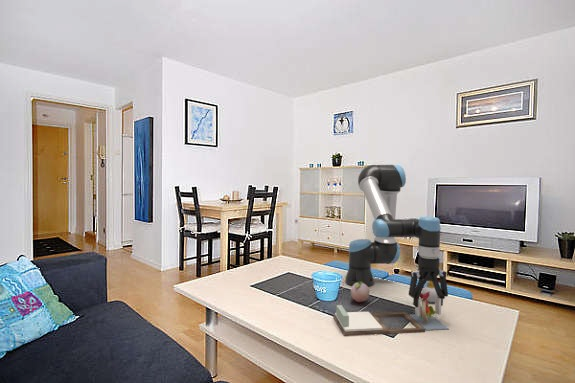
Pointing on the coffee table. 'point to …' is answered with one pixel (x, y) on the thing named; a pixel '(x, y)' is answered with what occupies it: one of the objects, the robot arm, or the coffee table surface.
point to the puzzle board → (385, 330)
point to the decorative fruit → (360, 292)
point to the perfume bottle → (430, 289)
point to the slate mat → (429, 323)
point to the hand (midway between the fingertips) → (427, 314)
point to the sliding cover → (356, 320)
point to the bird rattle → (426, 307)
